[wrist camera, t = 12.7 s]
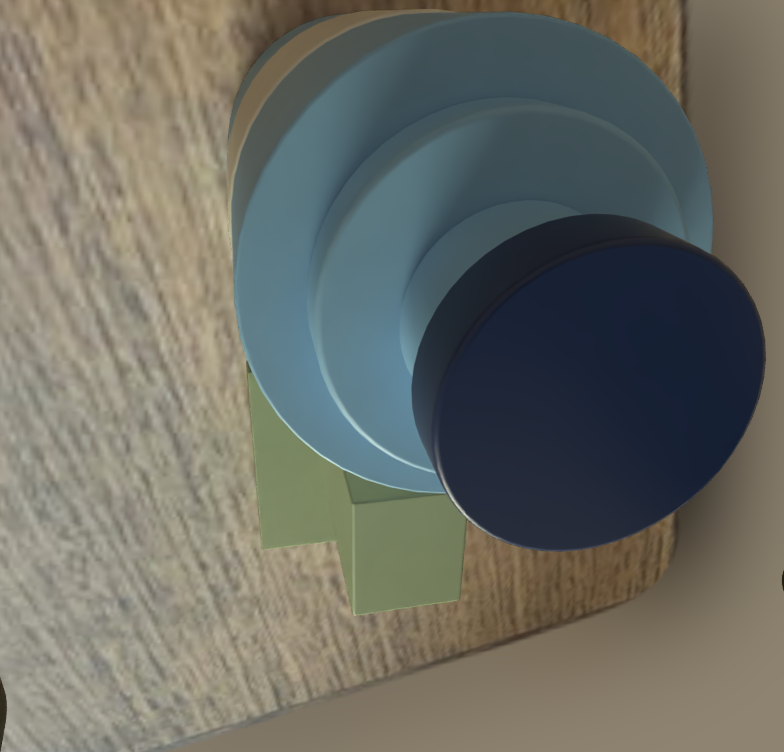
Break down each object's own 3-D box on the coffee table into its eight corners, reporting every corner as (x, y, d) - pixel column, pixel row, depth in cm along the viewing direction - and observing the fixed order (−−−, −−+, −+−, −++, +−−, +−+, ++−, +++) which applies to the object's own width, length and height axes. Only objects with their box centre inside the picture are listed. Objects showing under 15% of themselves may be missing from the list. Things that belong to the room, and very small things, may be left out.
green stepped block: (446, 511, 23) (524, 683, 17) (260, 533, 22) (274, 726, 16) (457, 343, 20) (555, 479, 14) (246, 359, 19) (256, 513, 13)
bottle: (225, 135, 19) (157, -585, 8) (440, 132, 20) (663, -493, 9) (262, 605, 16) (237, 588, 4) (521, 568, 17) (1078, 474, 5)
